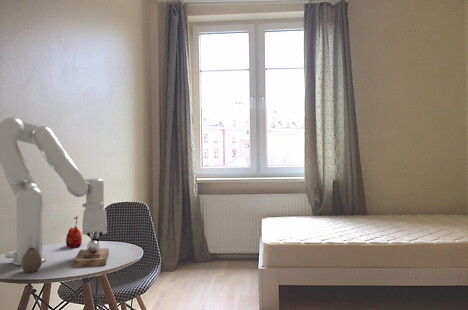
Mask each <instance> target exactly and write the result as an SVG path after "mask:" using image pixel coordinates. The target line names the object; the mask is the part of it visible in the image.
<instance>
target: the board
mask: <svg viewBox="0 0 468 310" xmlns="http://www.w3.org/2000/svg"><path fill="white" fill-rule="evenodd" d="M109 251H110V250H109V248H108V247H107V248H105V247H104V248H99V249H98V250H97V251H96V252H90V251H89V250H88V249H87V248H86V249H79V251H78V252H77V254H76V256H75V259H74V260H73V267H74V268H79V267H80V268H83V267H97V266H98V267H100V266H106V265H107V262H108V259H109V253H110V252H109Z"/></svg>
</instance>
